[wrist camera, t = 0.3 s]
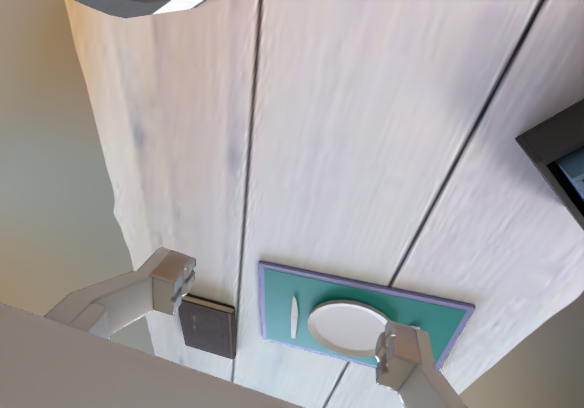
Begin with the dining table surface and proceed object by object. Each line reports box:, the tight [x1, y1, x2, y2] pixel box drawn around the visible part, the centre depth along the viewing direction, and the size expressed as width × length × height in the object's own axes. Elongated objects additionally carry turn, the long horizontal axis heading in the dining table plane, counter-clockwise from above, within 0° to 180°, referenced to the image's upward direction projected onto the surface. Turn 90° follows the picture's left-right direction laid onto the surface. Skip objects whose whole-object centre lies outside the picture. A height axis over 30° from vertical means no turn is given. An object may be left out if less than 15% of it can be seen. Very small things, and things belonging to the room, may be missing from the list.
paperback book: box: [178, 294, 236, 359], centre depth 91 cm, size 16×23×2 cm
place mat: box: [259, 261, 475, 371], centre depth 75 cm, size 45×30×2 cm
